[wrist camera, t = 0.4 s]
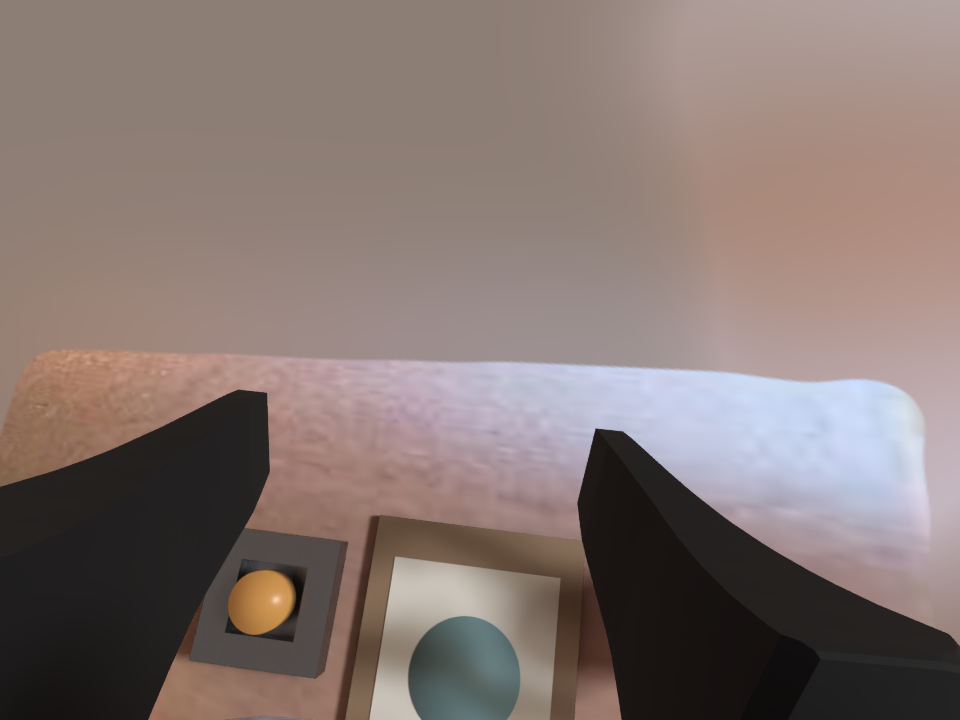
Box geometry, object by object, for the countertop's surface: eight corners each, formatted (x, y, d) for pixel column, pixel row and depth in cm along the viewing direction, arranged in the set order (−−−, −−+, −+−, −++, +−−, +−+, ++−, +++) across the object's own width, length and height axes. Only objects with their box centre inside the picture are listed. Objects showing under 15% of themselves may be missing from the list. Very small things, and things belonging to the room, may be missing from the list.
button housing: (324, 671, 36) (315, 678, 35) (204, 654, 37) (188, 660, 35) (348, 541, 39) (340, 542, 37) (235, 526, 39) (222, 526, 37)
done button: (289, 633, 35) (279, 638, 34) (233, 626, 36) (221, 630, 34) (301, 573, 37) (292, 574, 35) (247, 565, 37) (236, 567, 35)
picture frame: (562, 860, 33) (565, 869, 32) (330, 823, 34) (325, 831, 33) (583, 541, 39) (586, 541, 38) (381, 515, 39) (379, 514, 38)
